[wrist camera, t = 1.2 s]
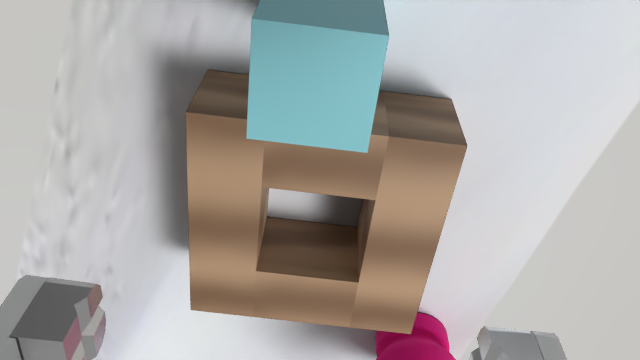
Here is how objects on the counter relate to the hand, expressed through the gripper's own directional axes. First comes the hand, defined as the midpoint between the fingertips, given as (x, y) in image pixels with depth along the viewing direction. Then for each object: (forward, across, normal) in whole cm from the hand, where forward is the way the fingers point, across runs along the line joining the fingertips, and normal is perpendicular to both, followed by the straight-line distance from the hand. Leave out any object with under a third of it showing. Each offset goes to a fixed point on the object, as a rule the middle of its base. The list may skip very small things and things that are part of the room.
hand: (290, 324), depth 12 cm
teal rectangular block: (+26, 0, 0) cm, 26 cm away
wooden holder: (+26, -1, +14) cm, 29 cm away
